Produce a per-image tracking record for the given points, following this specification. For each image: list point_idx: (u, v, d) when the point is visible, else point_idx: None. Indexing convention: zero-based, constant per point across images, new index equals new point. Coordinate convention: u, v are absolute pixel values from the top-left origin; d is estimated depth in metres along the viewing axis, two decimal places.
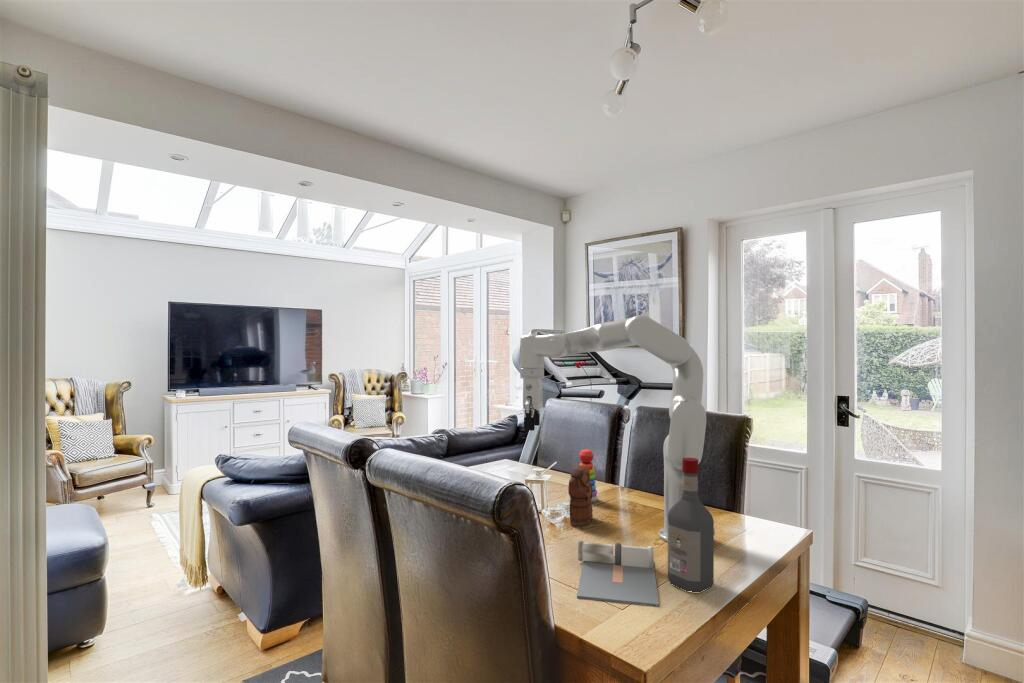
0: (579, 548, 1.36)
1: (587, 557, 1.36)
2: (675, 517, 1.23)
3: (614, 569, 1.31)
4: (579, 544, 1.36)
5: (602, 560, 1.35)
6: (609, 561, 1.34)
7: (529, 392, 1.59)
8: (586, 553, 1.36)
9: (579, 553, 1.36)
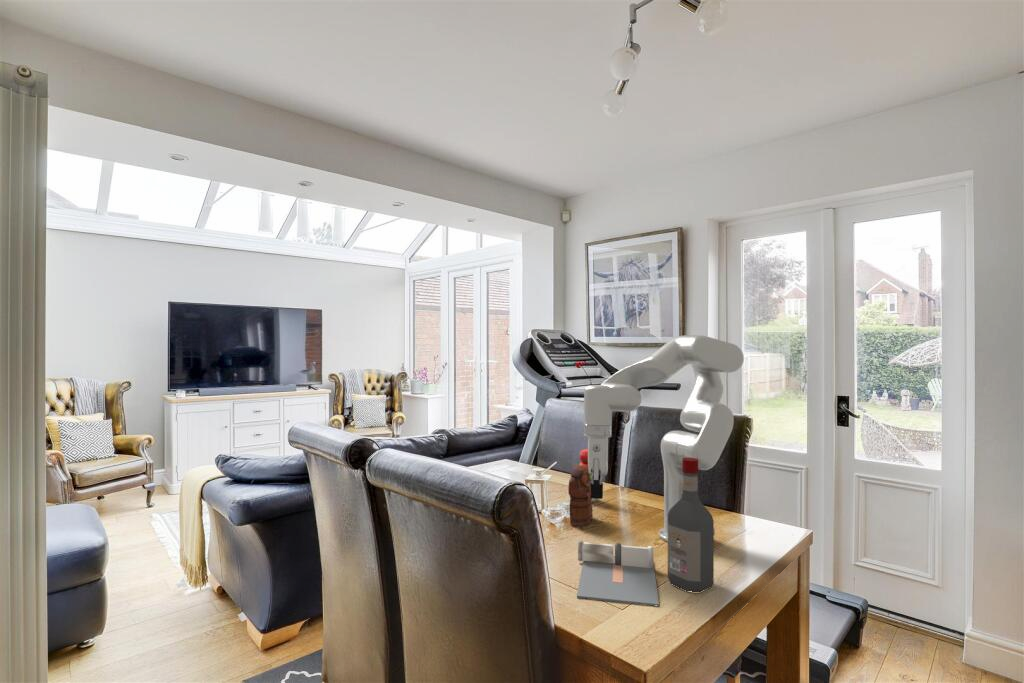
0: (579, 548, 1.36)
1: (587, 557, 1.36)
2: (675, 517, 1.23)
3: (614, 569, 1.31)
4: (579, 544, 1.36)
5: (602, 560, 1.35)
6: (609, 561, 1.34)
7: (596, 454, 1.37)
8: (586, 553, 1.36)
9: (579, 553, 1.36)
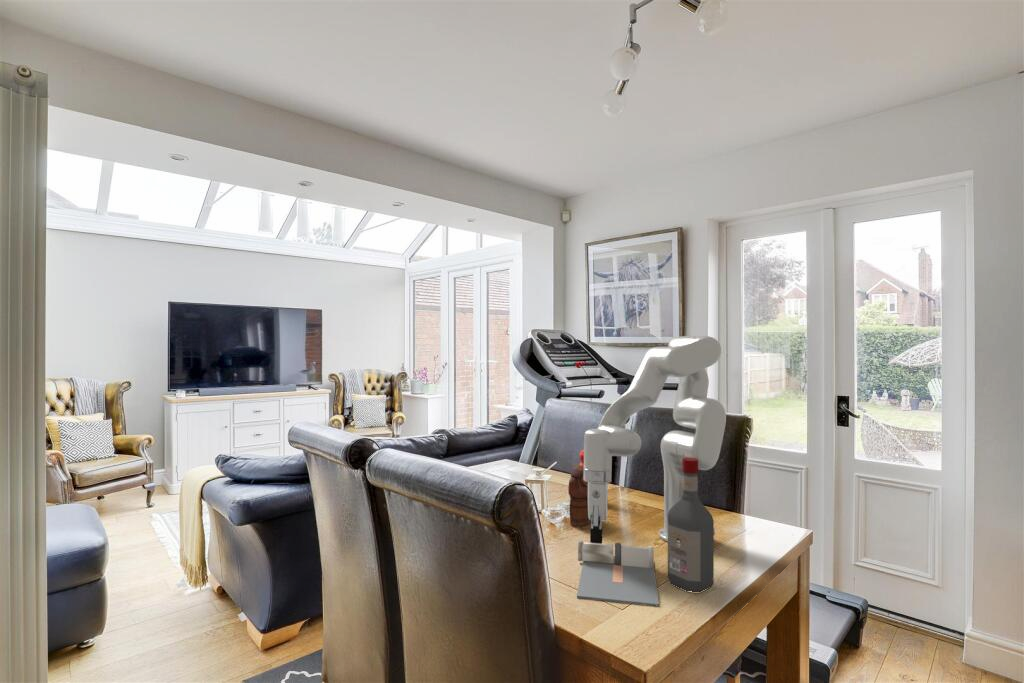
0: (579, 548, 1.36)
1: (587, 557, 1.36)
2: (675, 517, 1.23)
3: (614, 569, 1.31)
4: (579, 544, 1.36)
5: (602, 560, 1.35)
6: (609, 561, 1.34)
7: (596, 500, 1.37)
8: (586, 553, 1.36)
9: (579, 553, 1.36)
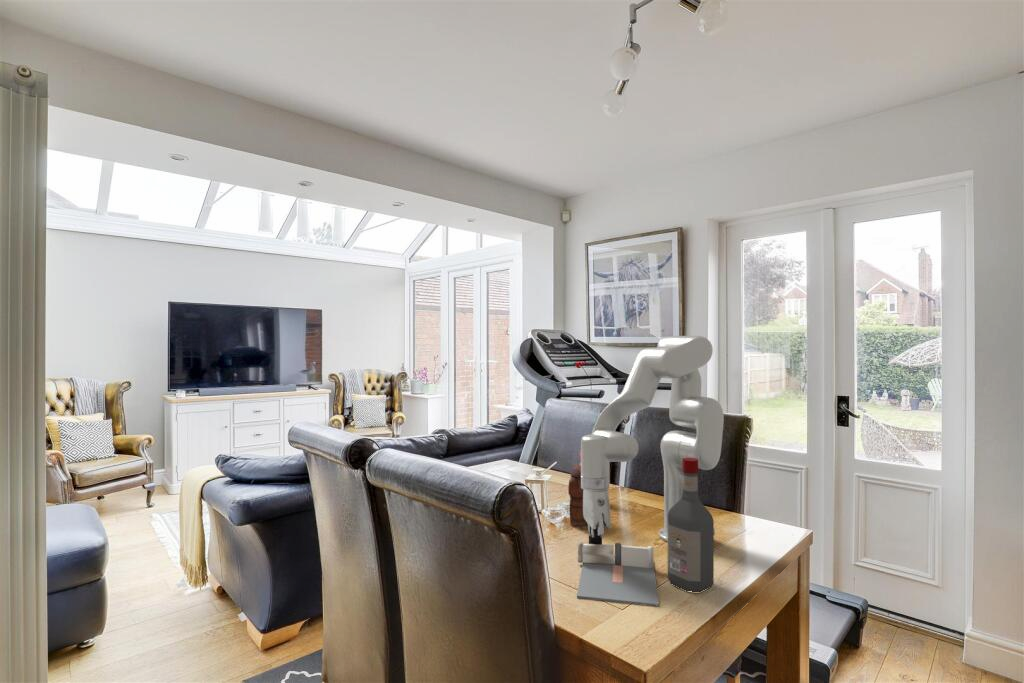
0: (579, 550, 1.35)
1: (587, 558, 1.35)
2: (675, 517, 1.23)
3: (614, 569, 1.31)
4: (579, 546, 1.35)
5: (602, 561, 1.34)
6: (609, 561, 1.34)
7: (601, 508, 1.33)
8: (586, 555, 1.35)
9: (579, 555, 1.35)
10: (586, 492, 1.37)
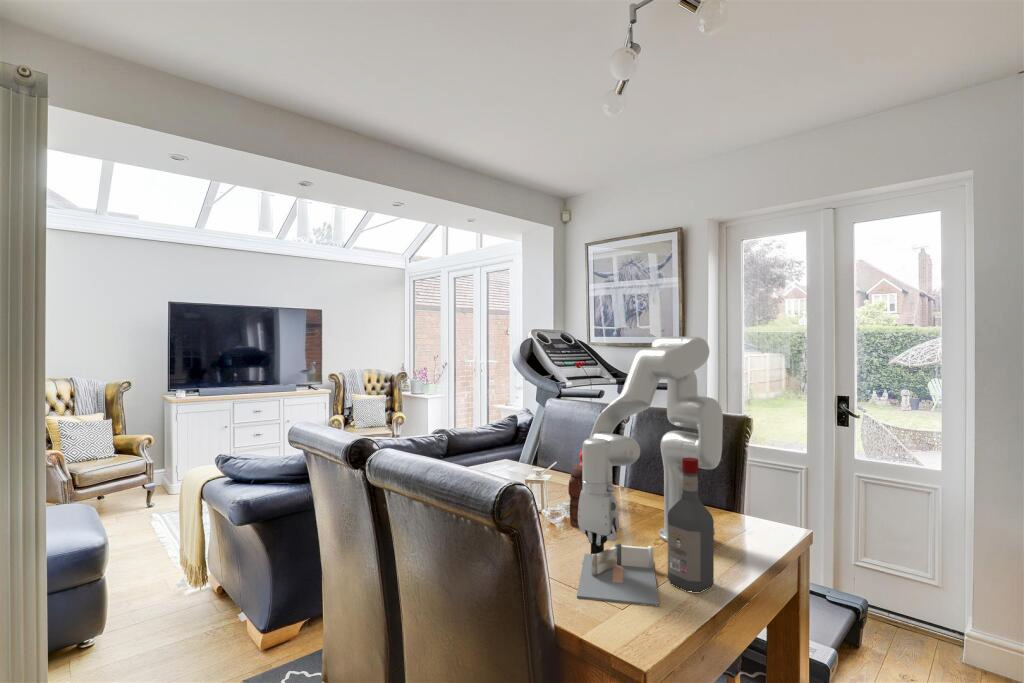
0: (595, 562, 1.27)
1: (600, 568, 1.29)
2: (675, 517, 1.23)
3: (614, 569, 1.31)
4: (595, 558, 1.27)
5: (610, 566, 1.31)
6: (614, 564, 1.33)
7: (614, 513, 1.29)
8: (599, 565, 1.29)
9: (595, 567, 1.27)
10: (592, 499, 1.31)
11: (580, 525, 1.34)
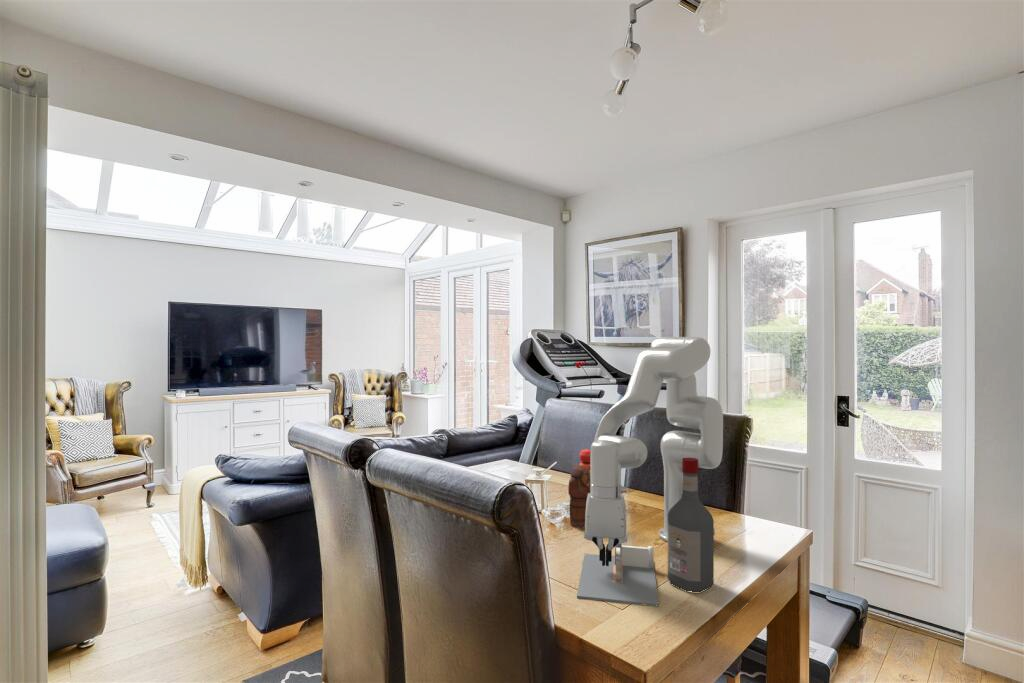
0: (621, 567, 1.25)
1: None
2: (675, 517, 1.23)
3: (614, 569, 1.31)
4: (621, 563, 1.25)
5: None
6: None
7: (625, 513, 1.29)
8: None
9: (621, 572, 1.25)
10: (607, 503, 1.27)
11: (589, 533, 1.28)
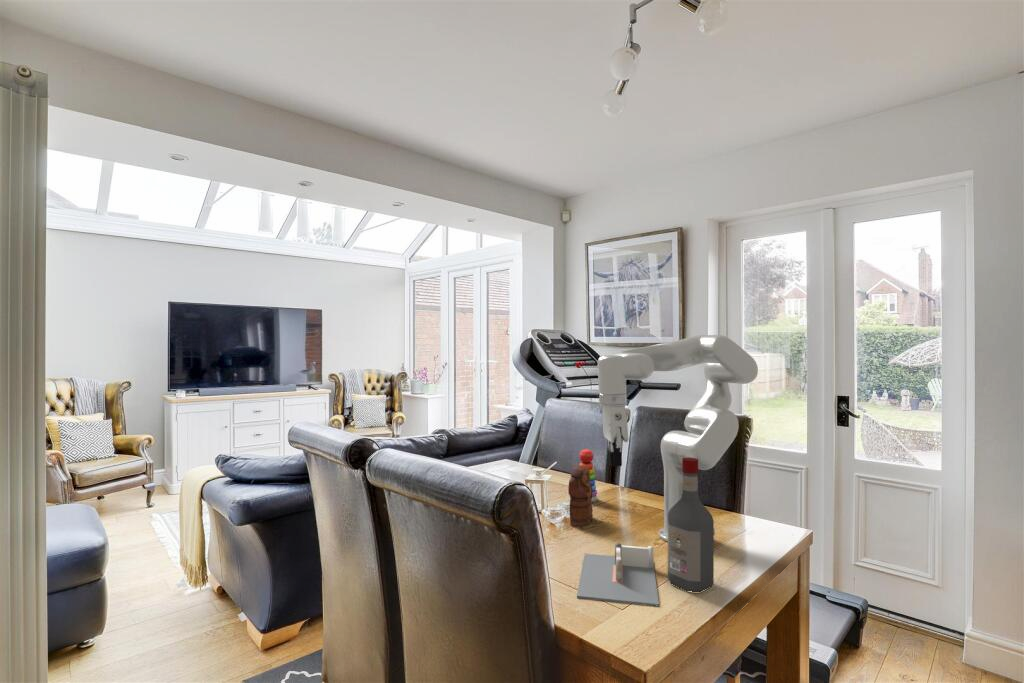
0: (621, 567, 1.25)
1: None
2: (675, 517, 1.23)
3: (614, 569, 1.31)
4: (621, 563, 1.25)
5: None
6: None
7: (618, 422, 1.39)
8: None
9: (621, 572, 1.25)
10: (604, 409, 1.43)
11: None
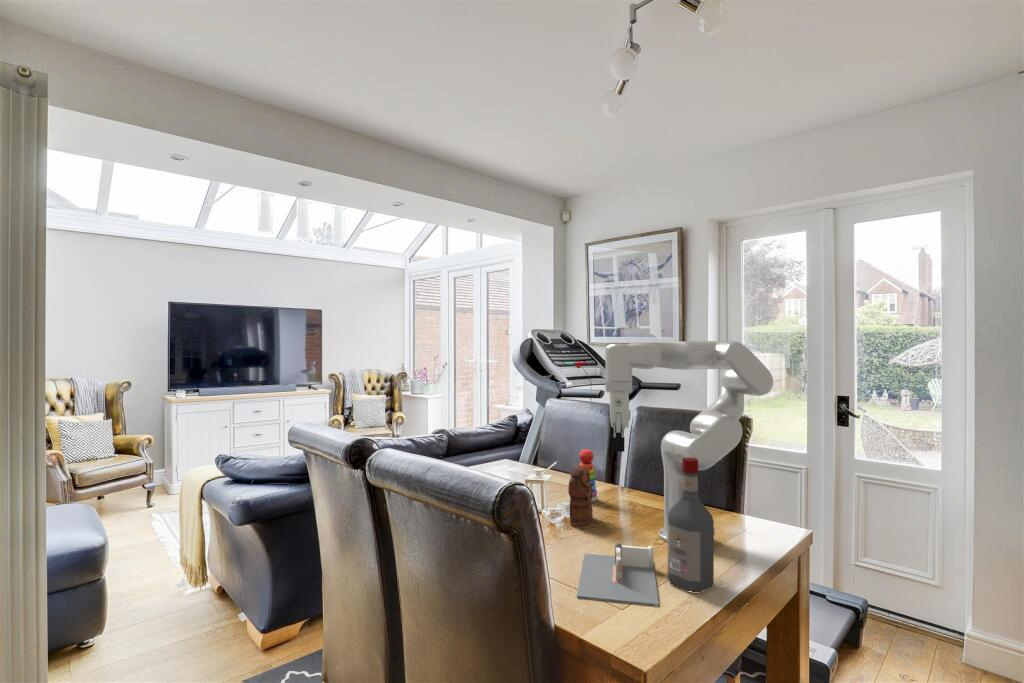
0: (621, 567, 1.25)
1: None
2: (675, 517, 1.23)
3: (614, 569, 1.31)
4: (621, 563, 1.25)
5: None
6: None
7: (618, 408, 1.43)
8: None
9: (621, 572, 1.25)
10: None
11: None
